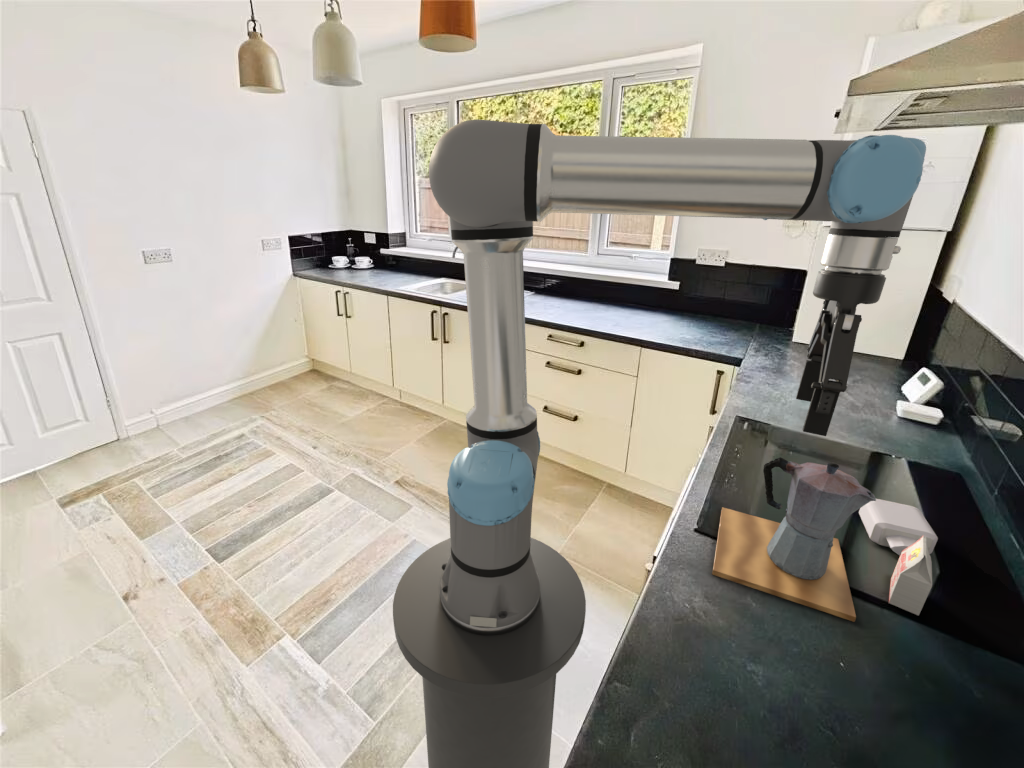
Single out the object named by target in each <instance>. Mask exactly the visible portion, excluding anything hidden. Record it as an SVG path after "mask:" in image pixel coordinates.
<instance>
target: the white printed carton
mask: <svg viewBox="0 0 1024 768" xmlns="http://www.w3.org/2000/svg"><path fill="white" fill-rule="evenodd" d="M930 556H931V554H929V551H928V548H927V543H926V537H925V538H924V535H923V536H922V537H921V538H920V539H919V540H918V541H916V542H915V543H913V544H912V545H910V546H909V547H907V548H906V549H904V550H902V552H901V555H899V558H898V559H897V563H896V565H895V568H894V570H893V572H892V574H891V577H890V583H889V594H888V604H890V605H892V606H895V607H896V608H897V607H898V608H899V609H902V610H904V611H906V612H909V613H911V614H914V615H916V616H917V617H918V616H920V614H921V611H922V610H923V608H924V605H925V603H926V601H927V598H928V596H929V594H930V593H931V589H932V587H933V565H932V563H933V561H932V557H931V558H930Z"/></svg>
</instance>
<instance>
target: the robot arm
mask: <svg viewBox="0 0 1024 768" xmlns="http://www.w3.org/2000/svg"><path fill="white" fill-rule="evenodd" d="M926 153H927V145H926V143H925V142H924V141H923V140H922V139H920V138H916V137H907V136H905V137H904V136H902V135H897V134H883V135H876V134H875V135H873V134H871V135H867V136H863V137H862V138H858V139H851V140H850V139H849V140H846V139H845V140H843V139H842V140H841V139H816V140H815V139H813V140H811V139H810V140H809V139H795V138H794V139H792V138H790V139H788V138H784V139H783V138H734V137H733V138H729V137H728V138H726V137H671V136H669V137H668V136H667V137H666V136H617V135H616V136H614V135H612V136H611V135H610V136H609V135H608V136H607V135H557V134H554V132H553V131H552V130H551V129H550V128H549V126H548V125H547V124H546V123H525V122H524V123H523V122H510V121H497V120H491V119H490V120H489V119H479V118H478V119H467V120H464V121H461V122H459V123H457V124H454V125H452V126H451V127H450V128H448V129H447V130H446V131H445V132H444V133H442V135H441V136H440V138H438V140H437V142H436V144H435V145H434V147H433V149H432V152H431V154H430V158H429V163H428V179H429V180H428V181H429V185H430V189H431V193H432V195H433V198H434V200H435V201H436V202H437V205H438V206H439V207H440V208H441V210H442V211H443V212H444V213H445V214H446V215H447V216H448V217H449V223H450V224H449V225H450V236H451V243H453V244H454V245H455V246H456V247H457V248H458V249H459V250H460V251H461V253H462V255H463V265H464V278H465V291H466V294H465V295H466V306H467V320H468V322H467V323H468V334H469V335H468V336H469V348H470V349H469V350H470V361H471V362H470V363H471V377H472V389H473V390H472V391H473V403H474V404H473V406H472V407H471V408H470V409H469V410H468V411H467V413H466V415H465V424H466V433H467V434H466V435H467V436H466V437H467V447H464V448H463V449H461V450H460V451H459V452H458V453H456V455H455V456H454V458H453V459H452V462H451V463H450V466H449V470H448V477H447V481H446V482H447V483H446V487H447V496H448V509H449V510H448V513H449V538H450V542H451V554H450V557H449V559H448V562H447V564H443V565H442V570H444V573H443V576H442V579H441V584H440V602H441V606H442V609H443V611H444V613H445V615H446V616H447V618H448V619H449V620H450V621H451V622H452V623H453V624H454V625H456V626H457V627H459V628H461V629H462V630H465V631H467V632H470V633H473V634H477V635H487V636H490V635H500V634H505V633H508V632H511V631H513V630H516V629H518V628H519V627H521V626H523V625H524V624H525V623H526V622H528V621H529V620H530V619H531V617H532V616H533V615H534V613H535V612H536V610H537V608H538V605H539V601H540V581H539V576H538V573H537V571H536V569H535V565H534V562H533V559H532V557H531V554H530V539H531V538H532V516H533V514H532V513H533V502H534V493H535V484H536V478H537V470H538V469H537V468H538V463H539V462H538V461H539V456H540V454H541V453H540V452H541V438H540V435H539V431H538V413H537V410H536V409H535V407H534V406H533V405H531V404H530V403H529V402H528V381H527V379H528V378H527V347H526V346H527V345H526V344H527V343H526V314H525V313H526V311H525V309H526V308H525V307H526V306H525V282H524V281H525V280H524V279H525V278H524V250H525V249H526V248H527V246H528V245H529V244H530V242H532V241H533V239H534V222H536V223H537V222H538V223H539V222H542V221H543V220H544V219H545V218H546V217H547V216H548V215H550V214H552V213H558V214H559V213H560V214H561V213H563V214H591V215H593V214H594V215H595V214H596V215H625V216H626V215H627V216H659V217H661V216H662V217H689V218H691V217H694V218H725V219H727V218H728V219H761V220H763V221H768V220H778V221H779V220H782V221H808V222H830V228H829V231H828V234H827V237H826V240H825V244H824V248H823V251H822V256H821V258H820V261H819V263H820V265H821V266H823V268H822V269H820V271H818V272H817V275H816V279H815V283H814V287H813V290H812V295H813V296H814V297H815V298H817V299H821V300H823V302H822V305H823V306H822V308H821V311H820V313H819V317H818V320H817V322H816V325H815V328H814V330H813V333H812V336H811V338H810V340H809V344H808V346H807V348H806V351H807V354H806V361H805V364H804V367H803V371H802V375H801V378H800V382H799V385H798V389H797V392H796V396H795V399H796V400H799V401H804V402H809V407H808V409H807V413H806V417H805V420H804V424H803V427H802V432H803V433H808V434H811V435H812V434H813V435H818V436H822V437H827V434H828V431H829V428H830V425H831V422H832V419H833V416H834V413H835V409H836V406H837V403H838V399H839V397H840V393H845V392H846V391H847V388H848V386H847V384H848V379H849V374H850V369H851V365H852V360H853V355H854V349H855V345H856V342H857V341H856V340H857V335H858V332H859V329H860V324H861V323H862V321H863V318H862V315H861V314H856V312H857V307H858V305H860V304H861V305H872V304H876V303H878V302H879V301H880V299H881V295H882V293H883V289H884V287H885V283H886V280H887V277H886V274H883V272H884V271H887V270H889V269H890V266H891V263H892V260H893V255H897V254H899V253H901V251H902V247H901V246H899V245H897V244H898V241H899V238H900V236H901V232H902V230H903V227H904V224H905V221H906V218H907V215H908V212H909V210H910V207H911V203H912V200H913V197H914V195H915V193H916V191H917V190H918V188H919V185H920V183H921V180H922V176H923V170H924V162H925V157H926Z"/></svg>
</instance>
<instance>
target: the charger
mask: <svg viewBox="0 0 1024 768" xmlns="http://www.w3.org/2000/svg"><path fill="white" fill-rule="evenodd" d="M858 515H859V517H860V519H861V522H862V524H863V526H864V528H865V530H866V533H867V535H868V537H869V539H870V541H871V542H872V543H874V544H877V545H880V546H882V547H886V548H890V549H891V550H892V552H894V553H895V554H897V555H898V556H900V555H901V552H902V550H904V549H906V548H907V547H909V546H910V545H912V544H913V543H915V542H916V541H918V540H919V539H920V538H921V537H922V536H923V535H924V538H925V537H926V543H927V548H928V551H929V554H930V558H931V559H932V556H931V554H932V553H933V551H934V550H935V547H936V545H937V542H938V540H939V537H938V536H937V534H936V532H935V530H934V529H933V528H932V526H931V525H930V523H929V522H928V521H927V519H926V517H925V515H924V514H923V513H922V511H921V510H920V508H918V507H916V506H913V505H909V504H904V503H899V502H894V501H890V500H884V499H882V498H881V499H880V498H876V501H870V502H869V503H867V504H866V505H864V506H863V507H861V508H860V509H858Z"/></svg>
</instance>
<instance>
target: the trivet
mask: <svg viewBox="0 0 1024 768" xmlns="http://www.w3.org/2000/svg"><path fill="white" fill-rule="evenodd" d="M780 523H781V522H778V521H774V520H770V519H768V518H767V519H766V518H763V517H759V516H756V515H751V514H748V513H745V512H741V511H738V510H734V509H730V508H727V507H724V506H723V507H721V510H720V517H719V524H718V531H717V538H716V544H715V552H714V558H713V565H712V572H711V575H712V576H715V577H719V578H721V579H725V580H726V581H727V580H728V581H731V582H733V583H736V584H739V585H741V586H742V585H743V586H745V587H748V588H751V589H754V590H757V591H760V592H763V593H765V594H769V595H772V596H775V597H779V598H780V599H784V600H787V601H790V602H793V603H796V604H799V605H802V606H806V607H808V608H810V609H814V610H817V611H820V612H823V613H825V614H829V615H832V616H834V617H838V618H841V619H844V620H847V621H850V622H853V623H855V622H856V619H857V615H856V610H855V605H854V602H853V598H852V597H853V596H852V593H851V589H850V584H849V579H848V575H847V570H846V566H845V562H844V559H843V558H844V557H843V554H842V553H843V552H842V549H841V545H840V540H839V538H836V537H834V538H833V546H832V547H831V552H830V556H829V561H828V565H827V569H826V572H825V574H824V575H823V576H822V577H821V578H819V579H816V580H809V579H802V578H799V577H796V576H794V575H791V574H789V573H787V572H785V571H784V570H782V569H781V568H779V567H778V566H777V565H776V564H775V563H774V562H773V561H772V560H771V559H770V557H769V555H768V553H767V546H768V544H769V542H770V541H771V539H772V537H773V536H774V534H775V532H776V531H777V529H778V527H779V525H780Z"/></svg>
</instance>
